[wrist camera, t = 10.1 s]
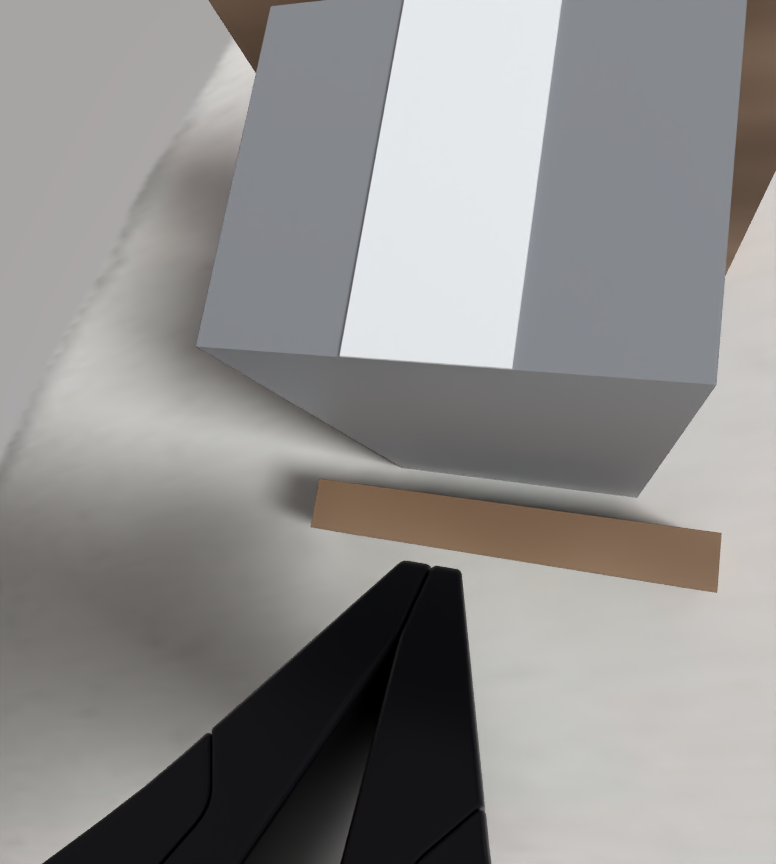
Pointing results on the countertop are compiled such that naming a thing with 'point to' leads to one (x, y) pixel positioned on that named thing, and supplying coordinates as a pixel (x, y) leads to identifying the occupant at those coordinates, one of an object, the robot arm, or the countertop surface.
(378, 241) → the block
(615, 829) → the countertop surface
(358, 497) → the set of wooden blocks
